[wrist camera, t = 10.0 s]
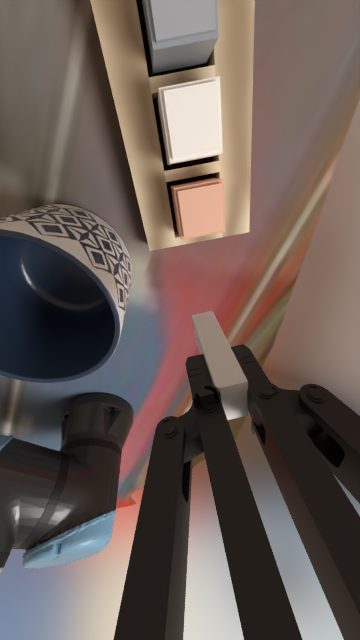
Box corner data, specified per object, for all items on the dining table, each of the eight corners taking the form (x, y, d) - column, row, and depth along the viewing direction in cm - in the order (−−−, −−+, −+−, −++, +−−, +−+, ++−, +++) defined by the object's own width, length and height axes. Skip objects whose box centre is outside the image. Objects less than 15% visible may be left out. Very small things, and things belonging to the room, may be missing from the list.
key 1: (177, 230, 28) (181, 240, 24) (170, 186, 25) (174, 188, 21) (215, 223, 28) (226, 232, 24) (212, 177, 25) (224, 178, 21)
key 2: (153, 73, 20) (153, 47, 16) (138, -18, 17) (134, -78, 13) (206, 63, 20) (220, 34, 16) (200, -30, 17) (215, -94, 13)
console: (149, 244, 30) (149, 250, 28) (87, -23, 18) (77, -55, 16) (241, 227, 30) (249, 232, 28) (242, -54, 18) (256, -89, 16)
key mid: (167, 165, 24) (170, 163, 20) (157, 103, 21) (158, 86, 17) (211, 156, 24) (223, 153, 20) (207, 93, 21) (221, 74, 17)
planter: (152, 248, 31) (152, 296, 19) (105, 327, 37) (83, 399, 26) (30, 172, 25) (-82, 172, 13) (0, 282, 31) (-93, 349, 19)
